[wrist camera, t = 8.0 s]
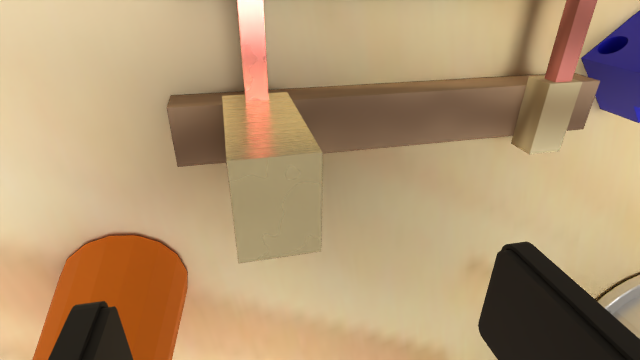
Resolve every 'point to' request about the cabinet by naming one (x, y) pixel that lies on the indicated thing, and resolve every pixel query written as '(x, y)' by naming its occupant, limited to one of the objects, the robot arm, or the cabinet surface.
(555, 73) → the beam
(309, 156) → the slider
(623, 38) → the cable clip
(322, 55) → the cabinet surface
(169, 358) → the spray bottle
